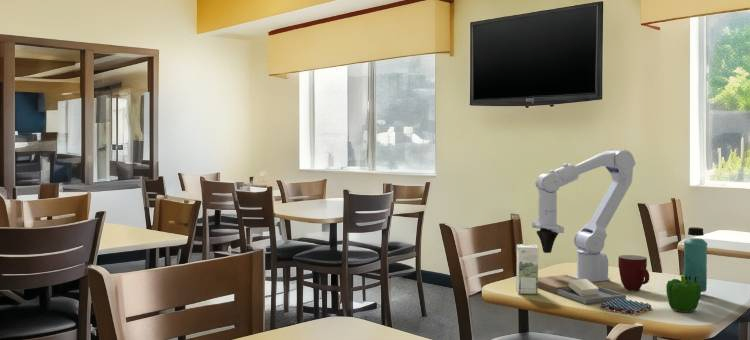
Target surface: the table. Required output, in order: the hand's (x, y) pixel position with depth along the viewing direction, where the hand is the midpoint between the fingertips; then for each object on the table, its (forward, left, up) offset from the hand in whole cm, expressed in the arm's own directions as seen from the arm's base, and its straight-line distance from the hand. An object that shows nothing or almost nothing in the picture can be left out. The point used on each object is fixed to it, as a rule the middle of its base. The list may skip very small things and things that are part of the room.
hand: (547, 252), depth 214 cm
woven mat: (+1, +37, -10) cm, 38 cm away
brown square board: (+1, +9, -9) cm, 13 cm away
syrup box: (+15, +11, -10) cm, 21 cm away
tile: (+1, +19, -8) cm, 21 cm away
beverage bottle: (-29, +32, -10) cm, 44 cm away
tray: (+1, +23, -9) cm, 25 cm away
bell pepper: (-12, +44, -10) cm, 47 cm away
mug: (-17, +21, -10) cm, 29 cm away
